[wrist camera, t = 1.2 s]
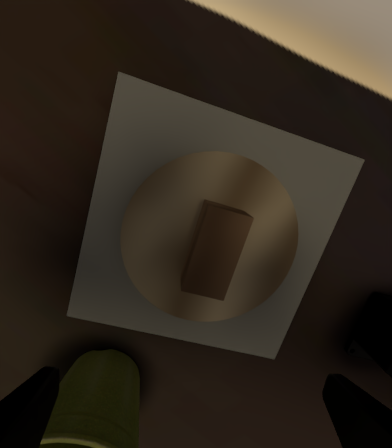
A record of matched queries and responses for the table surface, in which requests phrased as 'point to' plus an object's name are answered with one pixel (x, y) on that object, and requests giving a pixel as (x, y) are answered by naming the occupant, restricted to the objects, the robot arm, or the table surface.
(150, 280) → the lid
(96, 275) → the mat
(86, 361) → the plant pot
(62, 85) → the table surface
